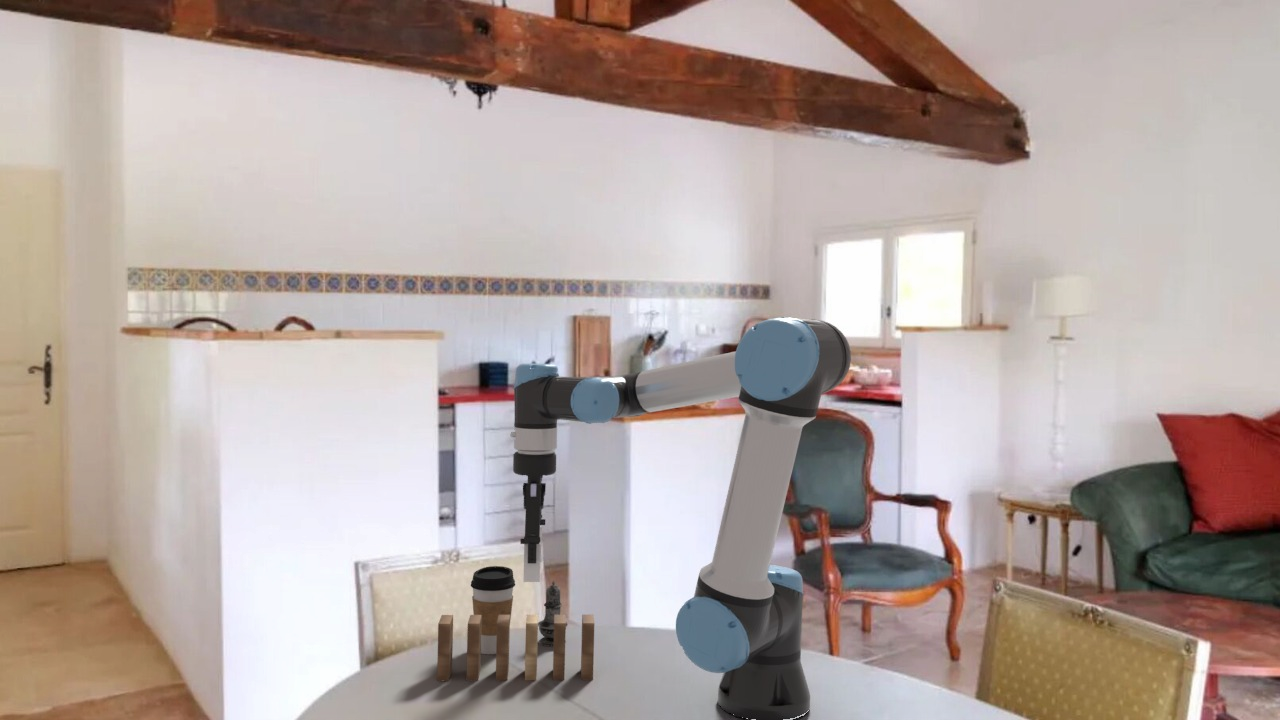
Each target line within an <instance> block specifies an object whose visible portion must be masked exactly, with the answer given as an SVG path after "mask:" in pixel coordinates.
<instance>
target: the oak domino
mask: <svg viewBox="0 0 1280 720" xmlns="http://www.w3.org/2000/svg"><path fill="white" fill-rule="evenodd" d="M538 622H539V614H526V620H525V650H524V651H525V653H524V660H525V661H524V681H537V676H538V675H537V673H538V641H539V640H538V633H539V632H538V631H539V626H538Z"/></svg>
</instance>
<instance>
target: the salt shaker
mask: <svg viewBox="0 0 1280 720" xmlns="http://www.w3.org/2000/svg"><path fill="white" fill-rule="evenodd" d="M561 592H562V591H561V588H560V587H559V586H557V585H556V582H555V581H552V583H551V585H549V586H548V587H547V588H546V592H545V603H543V605H544V607H545V615H544V619H542V620H540V621H538V631H539V632H540V634H541V635H542V636H543V637H541V638H540V639H539V640H538V643H539V644H540V645H541V644H542V645H541V646H544V645H546V646H545V647H554V615H561V607H562V606H563V603H562V602H561ZM568 624H569V623H568V622H567V621H566V627H567V626H568ZM566 643H567V641H566V639H565V644H566Z"/></svg>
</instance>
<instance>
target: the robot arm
mask: <svg viewBox="0 0 1280 720" xmlns="http://www.w3.org/2000/svg"><path fill="white" fill-rule="evenodd" d="M851 363H852V351H851V346H850V344H849V342H848V339H847V337H846V336H845V334H844V333H843V332H842V331H841V330H840V329H839V328H838V327H837V326H835V325H834V324H831V323H830V322H828V321H825V320H822V319H815V318H814V319H812V318H809V319H808V318H795V317H787V316H779V317H774V318H769V319H765V320H762V321H760V322H758V323H756V324H755V325H753V326H752V327H750V328H749V329H748V330H747V331H746V332H745V334H743V336H742V338H741V339H740V341H739V343H738V344H737V347H736V350H735V351H731V352H728V353H721V354H718V355H712V356H708V357H702V358H699V359H694V360H689V361H685V362H680V363H676V364H675V363H674V364H671V365H664V366H661V367H656V368H651V369H646V370H643V371H637V372H632V373H628V374H622V375H614V376H613V375H612V376H610V375H607V376H584V377H583V376H576V377H575V376H561V375H559V368H558V366H557V365H556V364H554V363H552V364H551V363H520V364H519V365H518V366H517V367H516V368H515V376H514V385H513V393H514V394H513V395H514V401H513V402H514V421H513V427H514V428H513V430H514V431H511V432H510V434H509V435H510V438H514V439H513V448H514V450H516V451H514V453H513V458H512V459H513V460H512V464H513V466H512V470H513V473H514V474H515V475H518V476H525V477H527V482H523V485H522V495H523V509H524V510H525V523H524V524H525V525H524V526H525V527H524V537H523V538H520V545H524V547H523V583H540V581H541V563H542V550H543V549H542V545H543V544H542V543H543V542H542V541H543V535H542V534H543V532H542V531H543V526H546V519H545V518H543V514H542V510H543V509H544V506H545V505H544V501H545V495H546V488H547V487H546V485H547V484H546V482H545V483H544V482H543V477H545V476H552V475H554V474H555V473H556V472H557V453H556V452H555V450H556V449H557V447H558V421H559V420H563V421H571V422H572V421H573V422H582V423H586V424H591V425H592V424H605V423H608V422H610V421H611V419H616V418H617V419H618V418H633V417H634V418H635V417H639V416H642V415H645V414H649V413H654V412H661V411H665V410H671V409H676V408H682V407H687V406H693V405H699V404H705V403H710V402H717V401H721V400H727V399H733V398H738V399H737V400H738V402H739V404H740V406H741V407H742V409H743V410H744V412H745V413H744V414H745V415H744V416H745V417H744V420H743V424H742V429H741V434H740V438H739V442H738V445H737V446H738V447H737V451H736V455H735V458H734V464H733V469H732V472H731V473H732V474H731V477H730V482H729V486H728V490H727V495H726V499H725V504H724V508H723V513H722V516H721V517H722V518H721V521H720V524H719V530H718V534H717V539H716V543H715V546H714V547H715V548H714V552H713V556H712V559H711V560H712V561H711V562H710V563H708V564H707V565H705V566H703V567H702V568H700V571H699V572H698V573H699V574H698V578H697V582H696V586H695V590H694V594H693V597H691V598H690V599H688V600H686V601H685V602H684V604H682V606H681V608H680V609H679V611H678V613H677V615H676V618H675V634H676V637H677V641H678V643H679V646H680V647H681V648H682V650H683V651H684V654H685V656H686V657H687V659H689V660H690V661H691V663H692V664H694V665H695V666H697V667H698V668H699V669H701V670H704V671H706V672H709V673H714V674H722V676H721V679H720V683H719V685H718V688H717V689H718V690H717V704H718V705H720V706H721V707H720V706H719V707H720V708H721V709H722V710H723V709H724V710H725V711H724V710H723V711H724V712H726V711H727V712H726V713H728V714H729V713H731V714H730V715H732V714H734V715H736V716H739V717H743V718H748V719H756V720H783V719H790V718H795V717H797V716H800V715H802V714H804V713H806V712H807V711H808V710H809V708H810V709H811V694H810V693H811V691H810V690H809V687H808V683H807V679H806V675H805V672H804V669H803V666H802V662H801V659H802V658H801V653H802V652H801V651H802V631H803V630H802V629H803V627H802V626H803V608H804V607H803V603H804V594H805V591H804V589H803V588H804V586H803V576H802V574H801V573H800V572H799V571H797V570H795V569H793V568H790V567H785V566H780V565H777V564H776V565H774V564H771V562H772V558H773V553H774V549H775V545H776V541H777V537H778V532H779V528H780V524H781V520H782V516H783V511H784V507H785V503H786V498H787V495H788V490H789V486H790V481H791V477H792V473H793V469H794V465H795V460H796V457H797V452H798V448H799V444H800V440H801V436H802V431H803V427H804V426H805V425H807V424H809V423H810V422H811V421H813V420H814V419H816V417H817V413H818V409H819V406H820V401H821V396H822V394H825V393H828V392H830V391H833V390H834V389H836V388H837V387H838V386H839V385H840V384H841V383H842V382H843V381H844V380H845V379H846V376H847V375H848V373H849V370H850V367H851ZM542 518H543V519H542ZM809 711H810V710H809ZM734 715H733V716H734ZM736 716H735V717H736ZM739 717H738V718H739ZM743 718H742V719H743Z"/></svg>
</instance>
